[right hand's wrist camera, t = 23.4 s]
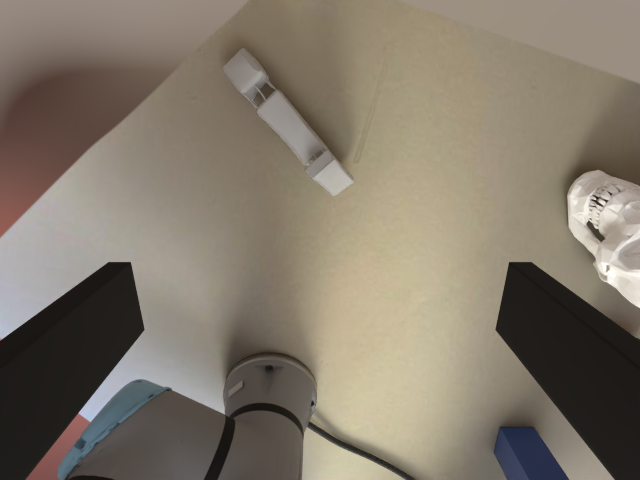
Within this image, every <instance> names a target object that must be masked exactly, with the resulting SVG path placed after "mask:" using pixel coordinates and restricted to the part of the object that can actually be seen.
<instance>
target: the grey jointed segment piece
mask: <svg viewBox="0 0 640 480" xmlns="http://www.w3.org/2000/svg"><path fill="white" fill-rule="evenodd" d="M223 71H224V73H225V74H226V75H227V77H228V78H229V79H230V81H231V82H232V83H233V85H234V86H235V87H236V89H237V90H238V91H239V92H240V93H241V94H242V95H243V96H244V97H246V98H247V99H248V100H249V101H250V102H251V103H252V105H253V106H254V107H255V108H256V109H257V110H256V112H257V114H258V115H259V116H260V117H261V118H262V119H263V120H264V121H265V122H266V123H267V124H268V125H269V126H270V127H271V128H272V129H273V130H274V131H275V132H276V133H277V134H278V135H279V136H280V137H281V139H282V140H283V141H284V142H285V143H286V144H287V145H288V146H289V147H290V149H291V150H292V151H293V152H294V153H295V155H296V156H297V157H298V159H299V160H300V161H301V162H302V164H304V165H305V166H307V168H306V169H305V171H306V172H307V173H308V174H309V175H310V176H311V177H312V178H313V179H314V180H315V181H316V182H318V183H319V184H320V185H321V186H322V187H323V188H324V189H325V190H326V191H327V192H328V193H329V194H330V195H331V196H336V195H337V194H339V193H340V192H341V191H343V190H344V189H345V188H347V187H348V186H349V185H350V184H352V183H353V182H354V178H353V177H352V175H351V174H350V173H349V172H348V171H347V170H346V169H345V168H344V166H343V165H342V164H341V163H340V162H339V161H338V160H337V159H336V158H335V157H334V155H333V154H332V153H331V151H330V150H329V149H328V148H327V146H326V145H325V144H324V143H323V142H322V140H321V139H320V138H319V137H318V136H317V134H316V133H315V132H314V131H313V130H312V128H311V127H310V126H309V125H308V123H307V122H306V121H305V120H304V119H303V117H302V116H301V115H300V114H299V113H298V111H297V110H296V109H295V108H294V107H293V105H292V104H291V103H290V102H289V100H288V99H287V98H286V97H285V96H284V94H283V93H282V92H281V91H280V90H278V89H275V87H274V86H273V85H272V84H271V83H270V81H269V77H268V75H267V74H266V72H265V70H264V69H263V67H262V66H261V65H260V64H259V62H258V61H257V60H256V59H255V58H254V57H253V56H252V55H251V54H250V53H249V52H248V51H246V50H245V49H244V48H241V49H240V50H239V51H238V52H237V54H236V55H235V56H234V57H233V58H232V59H231V60H230V61H229V62H228V63H227V64H226V65H225V66H224V67H223ZM266 83H267V84H268V85H269V86H270V87H272V88H273V89H274V90H275V91H274V92H273V93H272V94H271V95H270V96H269V97H268V98H267V99H266V98H265V97H264V95H263V94H262V92H261V91H260V89H261V88H262V87H263V86H264V85H265V84H266ZM258 92H259V93H260V94H261V95H262V97H263V99H264V100H265V101H264V102H263V103H262V104H260V105H259V106H258V105H257V104H256V102H255V101H254V99H255V97H256V95H257V93H258ZM252 101H253V102H254V103H253V102H252ZM255 105H256V106H257V107H256V106H255Z"/></svg>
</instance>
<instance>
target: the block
mask: <svg viewBox="0 0 640 480" xmlns="http://www.w3.org/2000/svg"><path fill="white" fill-rule="evenodd" d="M494 454H495V456H496V458H497V460H498V462H499V464H500V466H501V468H502V470H503V472H504V474H505V476H506V478H507V480H569V479H568V477H567V476H566V474H565V473H564V471H563V470H562V468H561V467H560V465H559V464H558V462H557V461H556V459H555V458H554V456H553V455H552V453H551V452H550V450H549V449H548V447H547V446H546V444H545V443H544V441H543V440H542V438H541V437H540V436H539V434H538V433H537V431H536V430H535V428H534V427H500V429H499V433H498V437H497V442H496V446H495V450H494Z"/></svg>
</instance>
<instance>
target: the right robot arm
mask: <svg viewBox="0 0 640 480" xmlns="http://www.w3.org/2000/svg"><path fill="white" fill-rule="evenodd" d="M143 331H144V325H143V320H142V315H141V310H140V305H139V300H138V296H137V291H136V286H135V281H134V276H133V271H132V266H131V262H108V263H107V264H106V265H104V266H103V267H101V268H100V269H99V270H97V271H96V272H94V273H93V274H92V275H90V276H89V277H88V278H86V279H85V280H83V281H82V282H81V283H79V284H78V285H77V286H75V287H74V288H72V289H71V290H70V291H68V292H67V293H66V294H64V295H63V296H61V297H60V298H59V299H57V300H56V301H54V302H53V303H52V304H50V305H49V306H48V307H46V308H45V309H43V310H42V311H41V312H39V313H38V314H37V315H35V316H34V317H32V318H31V319H30V320H28V321H27V322H26V323H24V324H23V325H21V326H20V327H19V328H17V329H16V330H14V331H13V332H12V333H10V334H9V335H8V336H6V337H5V338H3V339H2V340H1V341H0V480H25V479H26V478H27V477H28V476H29V474H30V473H31V472H32V471H33V469H34V468H35V467H36V466H37V464H38V463H39V462H40V460H41V459H42V458H43V457H44V455H45V454H46V453H47V452H48V450H49V449H50V448H51V447H52V445H53V444H54V443H55V442H56V440H57V439H58V438H59V437H60V435H61V434H62V433H63V432H64V430H65V429H66V428H67V427H68V425H69V424H70V423H71V421H72V420H73V419H74V418H75V416H76V415H77V414H78V413H79V411H80V410H81V409H82V408H83V406H84V405H85V404H86V403H87V401H88V400H89V399H90V398H91V396H92V395H93V394H94V393H95V391H96V390H97V389H98V388H99V386H100V385H101V384H102V383H103V381H104V380H105V379H106V377H107V376H108V375H109V374H110V372H111V371H112V370H113V369H114V367H115V366H116V365H117V364H118V362H119V361H120V360H121V359H122V357H123V356H124V355H125V354H126V352H127V351H128V350H129V349H130V347H131V346H132V345H133V344H134V342H135V341H136V340H137V339H138V337H139V336H140V335H141V333H142V332H143ZM496 331H497V332H498V333H499V335H500V336H501V337H502V339H503V340H504V341H505V342H506V344H507V345H508V346H509V347H510V349H511V350H512V351H513V352H514V354H515V355H516V356H517V357H518V359H519V360H520V361H521V362H522V364H523V365H524V366H525V367H526V369H527V370H528V371H529V372H530V374H531V375H532V376H533V377H534V379H535V380H536V381H537V383H538V384H539V385H540V386H541V388H542V389H543V390H544V391H545V393H546V394H547V395H548V396H549V398H550V399H551V400H552V401H553V403H554V404H555V405H556V406H557V408H558V409H559V410H560V411H561V413H562V414H563V415H564V416H565V418H566V419H567V420H568V422H569V423H570V424H571V425H572V427H573V428H574V429H575V430H576V432H577V433H578V434H579V435H580V437H581V438H582V439H583V440H584V442H585V443H586V444H587V445H588V447H589V448H590V449H591V450H592V452H593V453H594V454H595V455H596V457H597V458H598V459H599V460H600V462H601V463H602V464H603V466H604V467H605V468H606V469H607V471H608V472H609V473H610V474H611V476H612V477H613V478H614V479H615V480H640V339H638V338H635V337H634V336H632V335H631V334H630V333H628V332H627V331H626V330H624V329H623V328H621V327H620V326H619V325H617V324H616V323H614V322H613V321H612V320H610V319H609V318H608V317H606V316H605V315H603V314H602V313H601V312H599V311H598V310H597V309H595V308H594V307H592V306H591V305H590V304H588V303H587V302H586V301H584V300H583V299H581V298H580V297H579V296H577V295H576V294H574V293H573V292H572V291H570V290H569V289H568V288H566V287H565V286H563V285H562V284H561V283H559V282H558V281H557V280H555V279H554V278H552V277H551V276H550V275H548V274H547V273H546V272H544V271H543V270H541V269H540V268H539V267H537V266H536V265H534V264H533V263H532V262H509V266H508V271H507V276H506V281H505V286H504V291H503V296H502V300H501V305H500V310H499V315H498V320H497V325H496ZM223 399H224V406H225V415H224V414H222V413H220V412H218V411H216V410H214V409H211V408H209V407H207V406H205V405H203V404H201V403H198V402H196V401H194V400H192V399H190V398H188V397H185V396H183V395H181V394H179V393H177V392H175V391H172V389H171V388H169V387H162V386H160V385H157V384H154V383H152V382H149V381H147V380H142V379H141V380H135V381H132V382H130V383H129V384H127V385H125V386H124V387H123V388H122V389H121V390H120V391H119V392H117V393H116V394H115V396H114V397H113V398H112V399H111V400H110V401H109V402H108V403H107V404H106V405H105V406H104V407H103V409H102V410H101V411H100V412H99V413H98V414H97V416H96V417H95V418H94V419H93V420H92V422H91V423H90V424H89V425H88V427H87V428H86V429H85V430H84V432H83V433H82V434H81V437H80V439H78V440H77V442H76V443H75V444H74V446H73V447H72V448H71V449H70V450H69V452H68V453H67V455H66V456H65V458H64V459H63V461H62V462H61V464H60V466H59V468H58V470H57V477H58V478H60V480H302V462H303V437H304V432H305V430H306V427H308V428H310V429H311V430H313V431H314V432H316V433H318V434H319V435H321V436H322V437H324V438H325V439H327V440H329V441H330V442H332V443H334V444H336V445H338V446H340V447H342V448H344V449H346V450H348V451H351V452H353V453H355V454H358V455H360V456H362V457H365V458H367V459H369V460H371V461H373V462H375V463H377V464H379V465H381V466H383V467H385V468H387V469H389V470H391V471H392V472H394V473H396V474H397V475H399V476H401V477H402V478H404V479H405V480H415V479H414V478H412V477H411V476H409V475H408V474H406V473H405V472H403V471H401V470H400V469H398V468H396V467H395V466H393V465H391V464H389V463H387V462H385V461H383V460H382V459H380V458H378V457H376V456H374V455H372V454H369V453H367V452H365V451H363V450H360V449H358V448H356V447H353V446H351V445H349V444H347V443H344V442H342V441H340V440H338V439H337V438H335V437H333V436H331V435H330V434H328V433H327V432H325V431H324V430H322V429H321V428H319V427H317V426H316V425H314V424H313V423H311V422H310V418H311V416H312V414H313V412H314V409H315V405H316V400H317V388H316V382H315V380H314V377H313V375H312V374H311V372H310V371H309V370H308V369H307V368H306V367H305V366H304V365H303V364H302V363H300V362H299V361H297V360H295V359H294V358H291V357H289V356H286V355H282V354H277V353H262V354H256V355H253V356H250V357H247V358H245V359H243V360H242V361H240V362H239V363H238V364H237V365H235V366H234V368H233V369H232V370H231V372H230V373H229V375H228V378H227V380H226V383H225V387H224V394H223Z"/></svg>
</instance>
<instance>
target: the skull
mask: <svg viewBox="0 0 640 480" xmlns="http://www.w3.org/2000/svg"><path fill="white" fill-rule="evenodd" d="M606 187H607V188H606ZM598 189H599V190H598ZM601 189H602V190H601ZM603 190H604V191H603ZM607 191H609V192H610V193H612V196H610V194H609V193H608V192H607ZM597 192H598V193H597ZM599 193H600V194H599ZM593 195H596V196H597V197H601V198H603V199H606V200H609V201H608V202H607V203H606V202H605V201H604V200H602V199H601V198H599V199H598V200H597V201H598V202H599V203H601V204H602V205H603V207H601V206H599V205H597V204H596V202H593V201H591V200H592V199H594V200H596V198H595V197H594V196H593ZM567 199H568V221H569V228H570V230H571V232H572V233H573V235H574V237H576V238H577V239H578V240H579V241H580V242H581V243H582V244H583V245H585V247H586V248H587V249H588V250H589V251H590V252H591V253H592V254H593V255H594V256H595V258H596V261H594V263H593V264H594V266H595V268H596V269H597V271H598V274H599V277H600V279H601V280H603V281H605V282H607V283H609V284H610V285H612V286H613V287H615V288H616V289H617V290H618V291H619V292H620V293H621V294H622V295H623V296H624V297H625V298H626V299H627V300H629V301H630V302H631V303H632V304H634V305H636V306H637V307H639V308H640V186H638V185H636V184H634V183H631V182H628V181H625V180H622V179H619V178H616V177H612V176H610V175H607V174H606V173H604V172H603V171H600V170H596V171H590V172H586V173H584V174H583V175H581V176H580V177H579V178H577V179H576V180H575V181H574V183H573V184H572V185H571V187H570V189H569V192H568V195H567ZM590 205H593V206H596V207H597V208H595V207H593V206H590ZM598 213H599V214H600V215H599V214H598ZM588 221H590V222H592V223H593V226H594V227H595V228H596V229H599V232H600V234H601V235H603V236H604V238H605V240H603V241H602V242H600V241H599V240H598V239H597V238H596V237H595V235H594V234H593V233H592V231H591V230H590V229H589V227H588V226H587V224H586V223H587V222H588Z"/></svg>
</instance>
